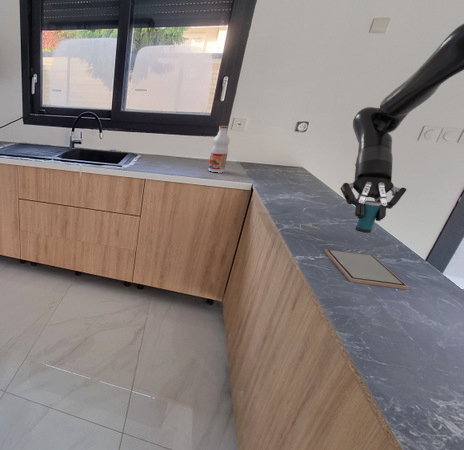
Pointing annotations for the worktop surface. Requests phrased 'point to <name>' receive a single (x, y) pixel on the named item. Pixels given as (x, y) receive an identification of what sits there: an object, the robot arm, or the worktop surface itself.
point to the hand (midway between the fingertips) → (369, 218)
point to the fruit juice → (219, 151)
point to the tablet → (364, 269)
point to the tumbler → (368, 217)
